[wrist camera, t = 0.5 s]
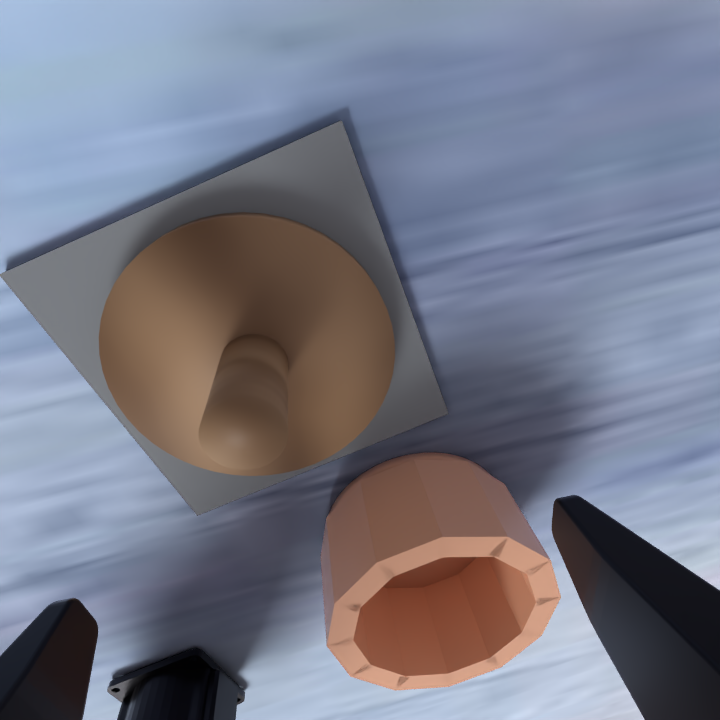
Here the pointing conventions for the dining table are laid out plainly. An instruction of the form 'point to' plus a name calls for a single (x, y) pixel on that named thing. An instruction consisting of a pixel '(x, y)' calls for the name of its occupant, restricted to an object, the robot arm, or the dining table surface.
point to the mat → (232, 195)
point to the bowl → (431, 574)
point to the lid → (247, 344)
